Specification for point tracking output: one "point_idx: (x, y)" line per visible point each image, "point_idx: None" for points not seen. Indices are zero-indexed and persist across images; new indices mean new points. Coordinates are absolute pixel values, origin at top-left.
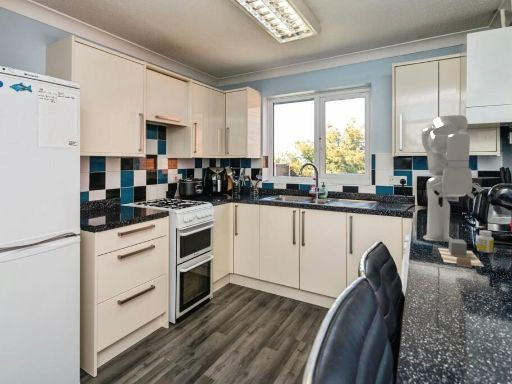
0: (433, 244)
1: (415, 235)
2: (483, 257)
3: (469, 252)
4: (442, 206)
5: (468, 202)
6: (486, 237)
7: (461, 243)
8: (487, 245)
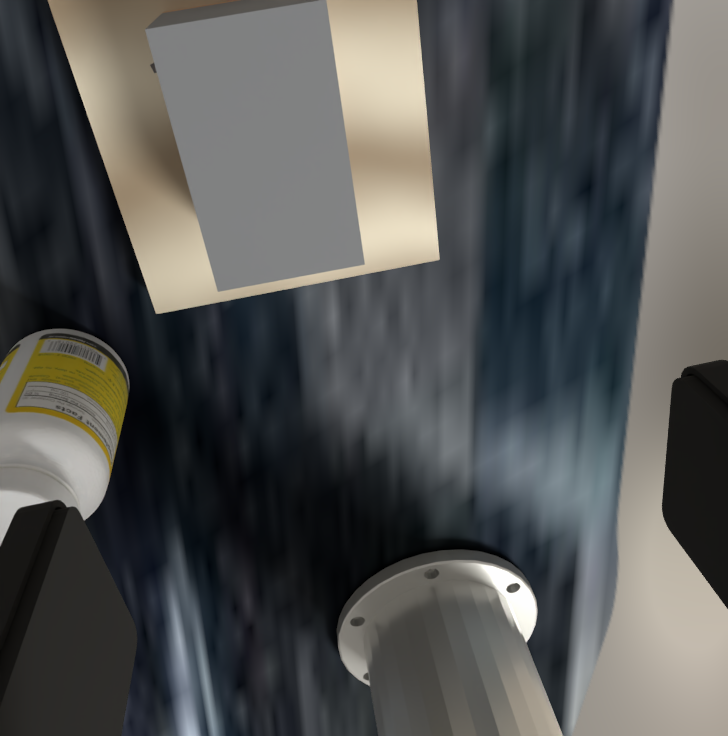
0: (463, 470)
1: (578, 650)
2: (54, 258)
3: (164, 244)
4: (680, 381)
5: (66, 673)
6: (2, 443)
7: (209, 30)
8: (11, 383)
